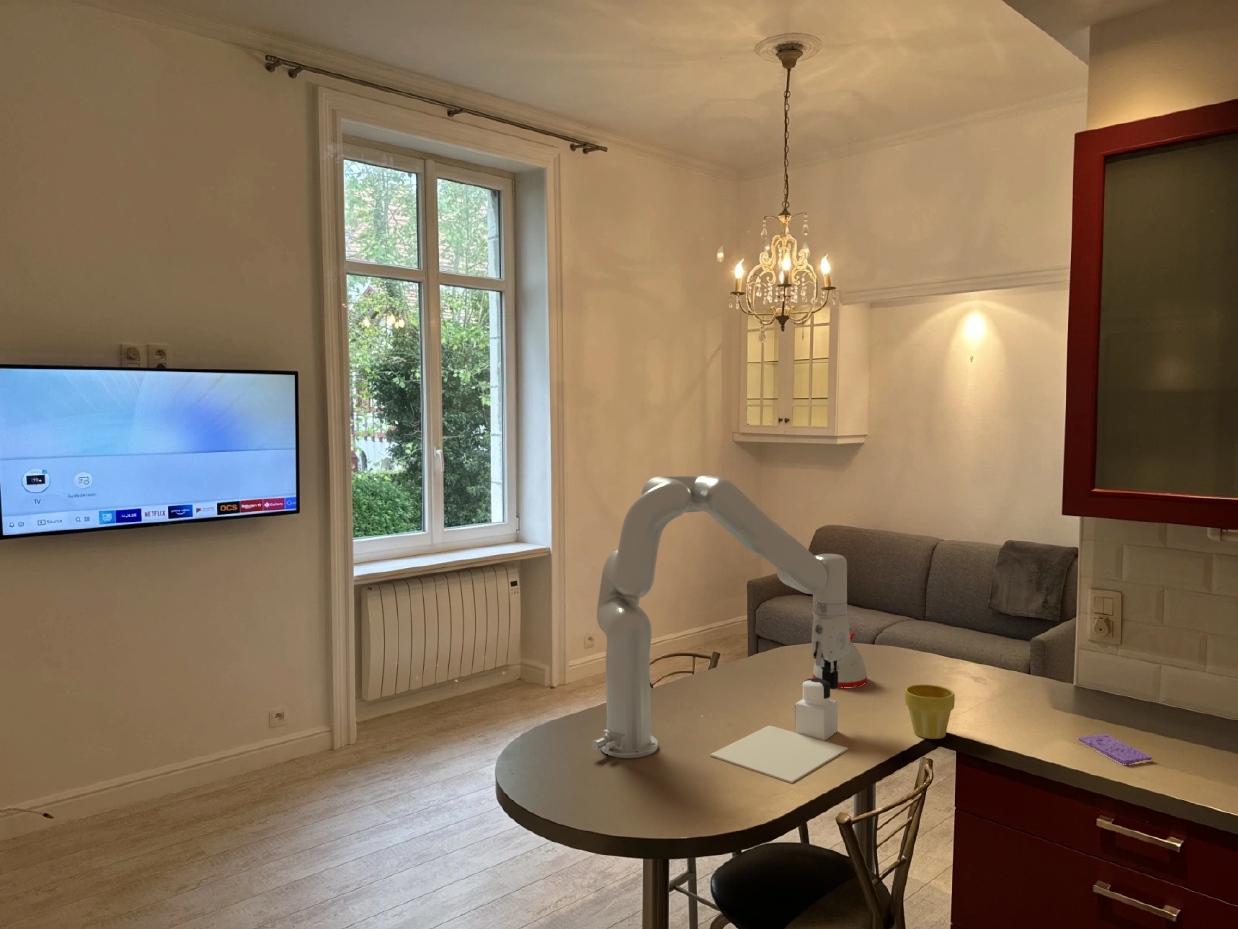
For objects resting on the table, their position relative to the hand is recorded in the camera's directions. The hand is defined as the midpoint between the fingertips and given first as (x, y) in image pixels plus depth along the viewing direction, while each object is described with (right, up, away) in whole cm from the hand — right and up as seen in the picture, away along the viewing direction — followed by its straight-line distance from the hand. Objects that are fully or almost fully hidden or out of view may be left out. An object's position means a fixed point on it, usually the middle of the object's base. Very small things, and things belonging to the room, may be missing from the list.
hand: (830, 687), depth 194 cm
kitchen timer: (+11, -7, +33) cm, 36 cm away
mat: (-14, -10, -15) cm, 23 cm away
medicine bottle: (-4, -10, -4) cm, 11 cm away
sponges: (+55, -10, -17) cm, 59 cm away
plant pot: (+21, -9, -5) cm, 23 cm away
